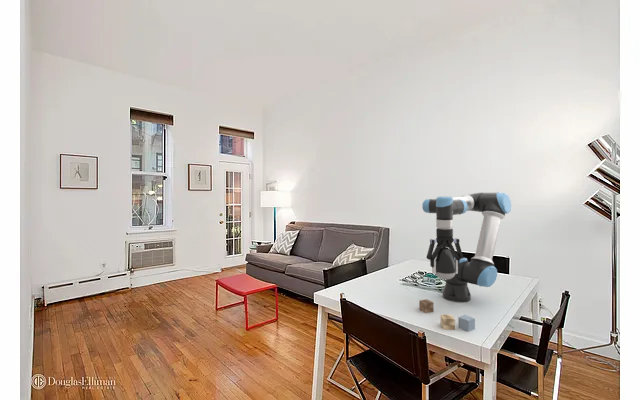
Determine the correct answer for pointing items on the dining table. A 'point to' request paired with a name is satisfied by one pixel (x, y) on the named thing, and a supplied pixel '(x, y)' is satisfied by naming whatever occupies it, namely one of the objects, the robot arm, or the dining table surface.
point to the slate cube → (466, 323)
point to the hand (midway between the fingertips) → (444, 273)
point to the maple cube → (447, 322)
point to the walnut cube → (426, 306)
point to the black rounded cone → (445, 264)
